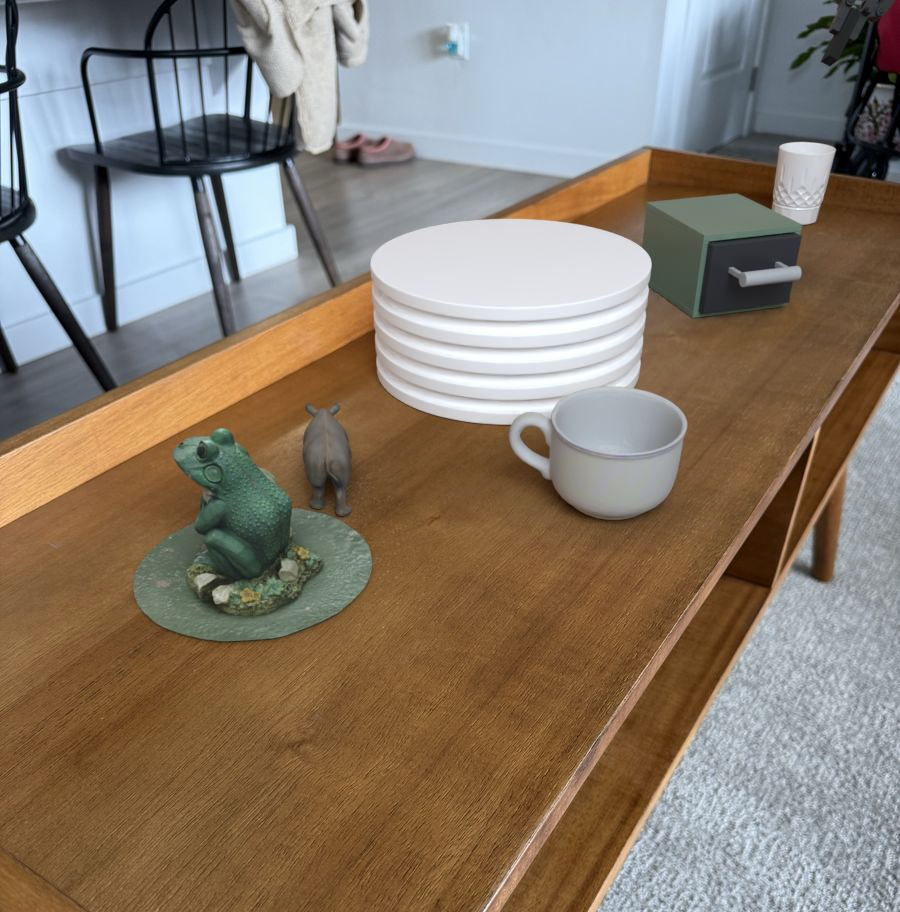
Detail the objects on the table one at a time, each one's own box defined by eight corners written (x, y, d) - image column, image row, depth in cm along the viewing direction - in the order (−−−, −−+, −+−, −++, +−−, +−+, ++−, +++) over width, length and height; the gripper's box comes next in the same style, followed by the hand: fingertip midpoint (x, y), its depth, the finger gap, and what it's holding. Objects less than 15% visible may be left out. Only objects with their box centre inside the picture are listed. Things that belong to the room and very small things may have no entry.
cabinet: (786, 306, 117) (802, 224, 111) (692, 318, 114) (704, 235, 108) (725, 269, 128) (737, 193, 122) (638, 279, 125) (646, 202, 119)
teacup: (683, 480, 83) (696, 395, 79) (663, 547, 75) (676, 455, 70) (528, 457, 87) (531, 374, 82) (493, 518, 79) (494, 429, 74)
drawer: (809, 315, 112) (824, 246, 107) (721, 326, 109) (733, 257, 104) (731, 268, 125) (741, 205, 121) (651, 277, 123) (658, 214, 118)
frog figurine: (221, 491, 83) (198, 364, 76) (410, 534, 77) (404, 401, 70) (82, 607, 70) (39, 467, 63) (297, 670, 64) (275, 522, 57)
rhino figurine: (347, 440, 90) (342, 380, 87) (359, 516, 79) (353, 452, 76) (303, 443, 90) (296, 383, 86) (308, 521, 79) (301, 456, 75)
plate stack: (434, 307, 118) (432, 209, 111) (662, 335, 110) (675, 231, 103) (331, 400, 97) (321, 287, 90) (604, 444, 89) (615, 323, 82)
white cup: (827, 226, 143) (843, 153, 137) (774, 226, 143) (787, 154, 137) (812, 211, 149) (826, 141, 143) (761, 212, 149) (773, 142, 143)
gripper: (889, -157, 123) (798, 28, 127) (975, -107, 124) (882, 75, 129) (863, -127, 130) (778, 47, 135) (944, -80, 132) (857, 91, 136)
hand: (829, 60), depth 132 cm, fingers closed
